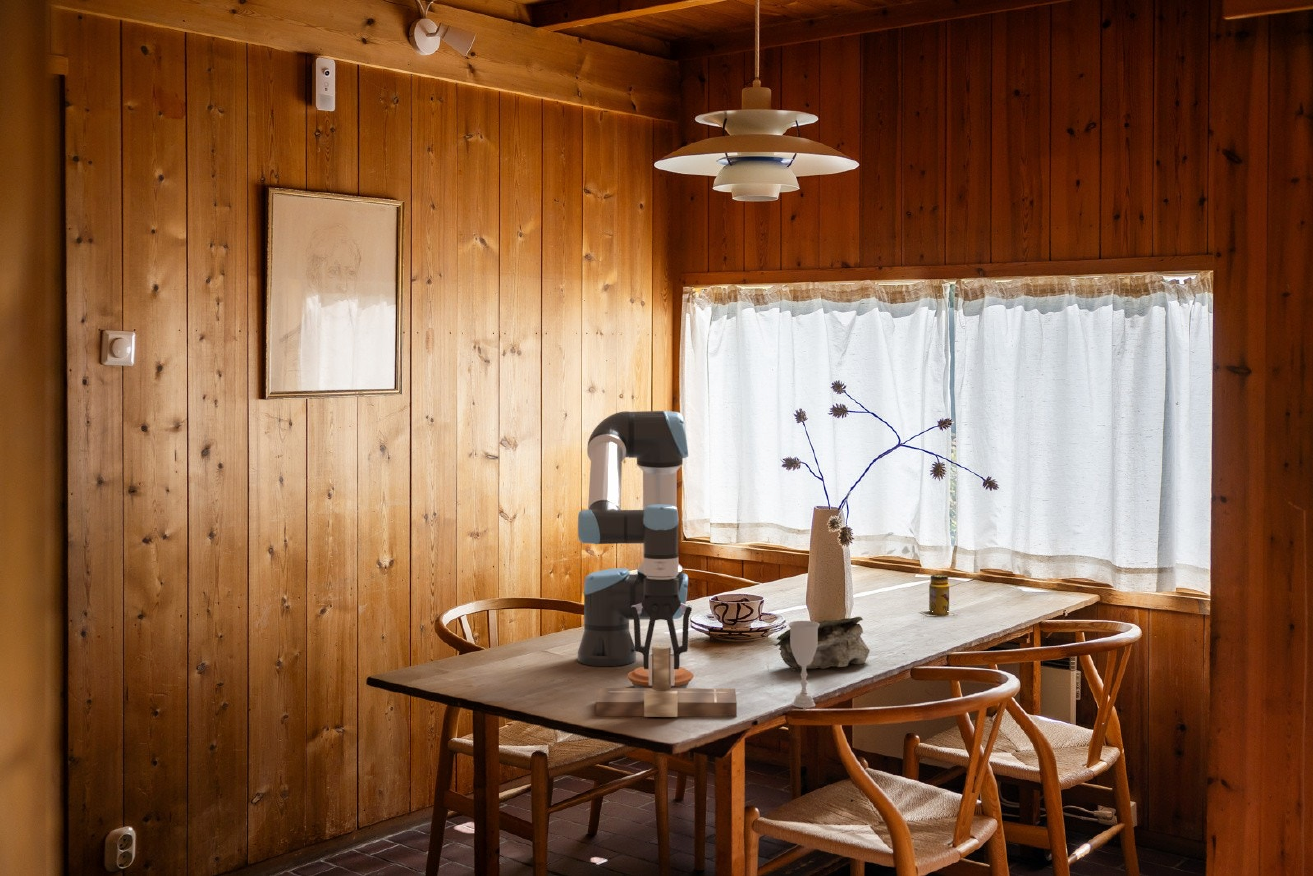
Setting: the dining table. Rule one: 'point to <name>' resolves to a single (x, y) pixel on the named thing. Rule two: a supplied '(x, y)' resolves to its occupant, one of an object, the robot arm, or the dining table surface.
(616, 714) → the board
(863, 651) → the hollow geode rock
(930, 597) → the condiment
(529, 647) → the dining table surface
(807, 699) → the chalice
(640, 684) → the pie
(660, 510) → the robot arm
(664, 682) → the wooden handled tool
